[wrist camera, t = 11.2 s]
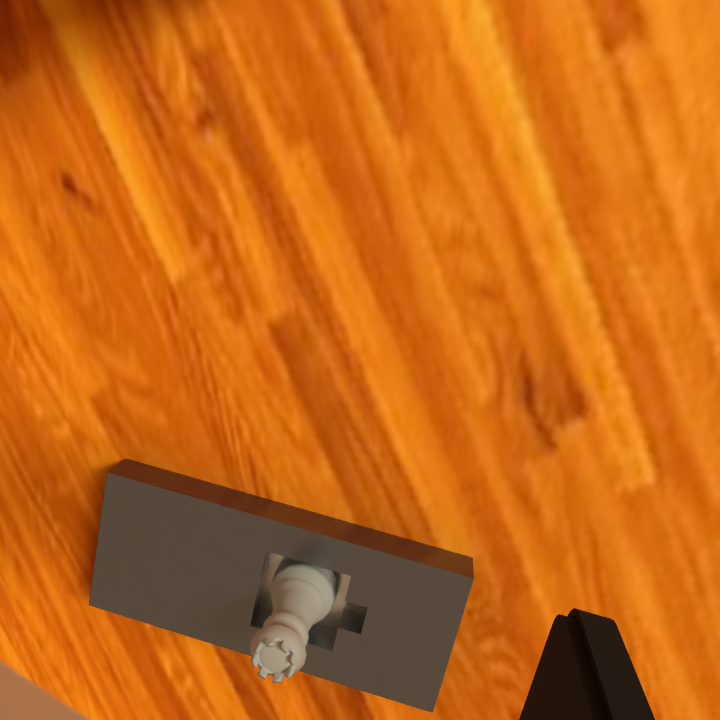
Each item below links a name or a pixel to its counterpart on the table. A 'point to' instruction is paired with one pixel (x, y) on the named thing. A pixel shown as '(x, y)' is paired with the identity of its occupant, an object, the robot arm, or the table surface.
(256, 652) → the rook chess piece
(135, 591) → the pocket plate
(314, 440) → the table surface
